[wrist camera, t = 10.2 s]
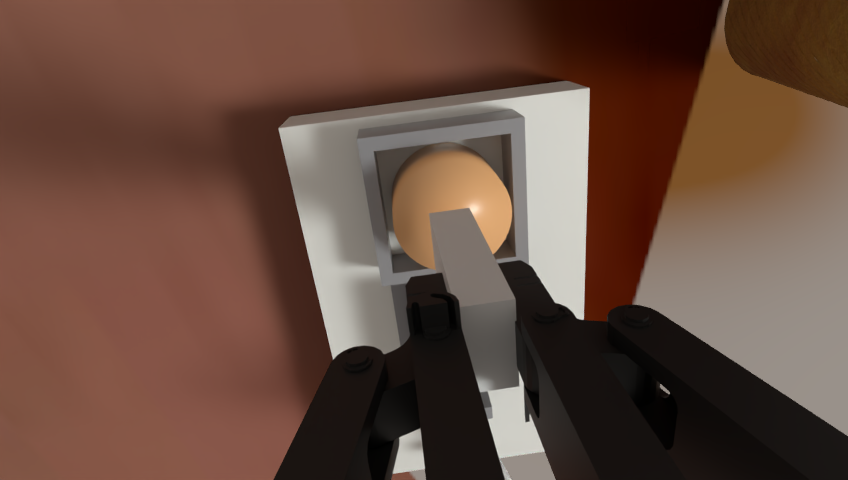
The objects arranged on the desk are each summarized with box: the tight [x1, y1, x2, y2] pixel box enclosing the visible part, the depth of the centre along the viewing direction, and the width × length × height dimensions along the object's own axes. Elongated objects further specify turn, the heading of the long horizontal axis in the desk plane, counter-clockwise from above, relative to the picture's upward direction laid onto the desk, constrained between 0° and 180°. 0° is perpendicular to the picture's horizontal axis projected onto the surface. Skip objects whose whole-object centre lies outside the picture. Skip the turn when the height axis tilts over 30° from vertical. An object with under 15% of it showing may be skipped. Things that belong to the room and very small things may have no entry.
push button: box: [392, 143, 512, 270], centre depth 22 cm, size 5×5×3 cm
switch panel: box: [278, 81, 590, 474], centre depth 27 cm, size 14×22×5 cm, turn 7°
